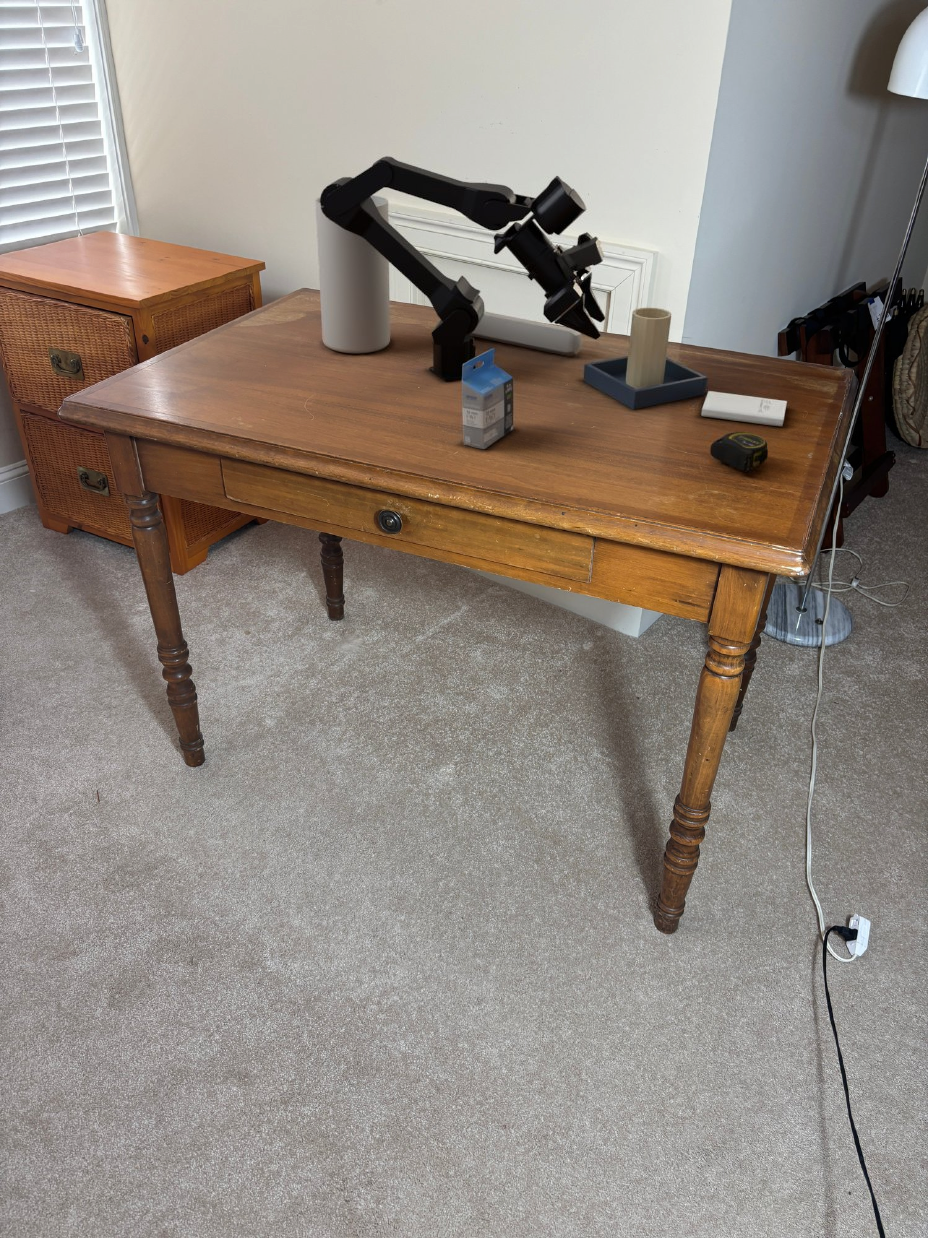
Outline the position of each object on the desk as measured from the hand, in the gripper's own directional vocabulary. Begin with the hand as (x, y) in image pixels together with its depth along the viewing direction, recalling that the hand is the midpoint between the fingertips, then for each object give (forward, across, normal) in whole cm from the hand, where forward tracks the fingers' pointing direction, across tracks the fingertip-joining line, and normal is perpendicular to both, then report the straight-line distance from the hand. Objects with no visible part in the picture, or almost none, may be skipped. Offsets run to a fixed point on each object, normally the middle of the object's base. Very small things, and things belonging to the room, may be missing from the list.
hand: (601, 328), depth 162 cm
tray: (+12, 0, +1) cm, 12 cm away
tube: (-4, +18, +18) cm, 25 cm away
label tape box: (-3, -26, +17) cm, 31 cm away
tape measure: (+23, -29, -9) cm, 38 cm away
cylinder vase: (-25, +11, +39) cm, 48 cm away
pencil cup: (+12, 0, +1) cm, 12 cm away
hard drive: (+24, -8, -10) cm, 27 cm away
